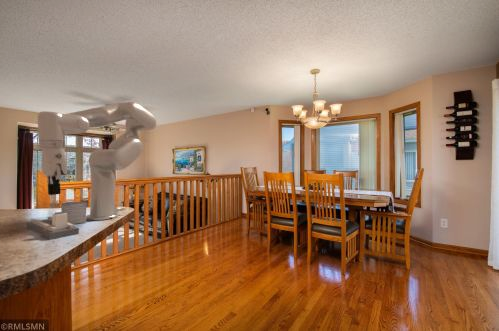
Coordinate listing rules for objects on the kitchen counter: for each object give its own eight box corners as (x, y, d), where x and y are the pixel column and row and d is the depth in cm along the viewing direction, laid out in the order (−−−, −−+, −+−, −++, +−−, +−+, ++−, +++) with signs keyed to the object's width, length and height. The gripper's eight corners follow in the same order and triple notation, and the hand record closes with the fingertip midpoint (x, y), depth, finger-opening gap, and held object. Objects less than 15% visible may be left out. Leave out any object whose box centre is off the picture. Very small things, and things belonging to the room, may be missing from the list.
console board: (52, 223, 93) (53, 215, 93) (78, 233, 81) (79, 224, 81) (26, 227, 87) (26, 218, 87) (50, 239, 74) (50, 229, 74)
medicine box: (84, 220, 99) (84, 201, 99) (86, 222, 96) (86, 202, 96) (60, 223, 93) (61, 202, 93) (62, 226, 90) (62, 204, 90)
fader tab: (63, 226, 82) (63, 210, 82) (67, 227, 80) (67, 211, 80) (52, 228, 79) (52, 212, 79) (55, 229, 77) (56, 213, 78)
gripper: (73, 145, 84) (74, 194, 85) (56, 146, 92) (58, 191, 93) (47, 145, 78) (49, 198, 79) (32, 145, 86) (34, 193, 87)
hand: (54, 194), depth 86 cm, fingers closed
